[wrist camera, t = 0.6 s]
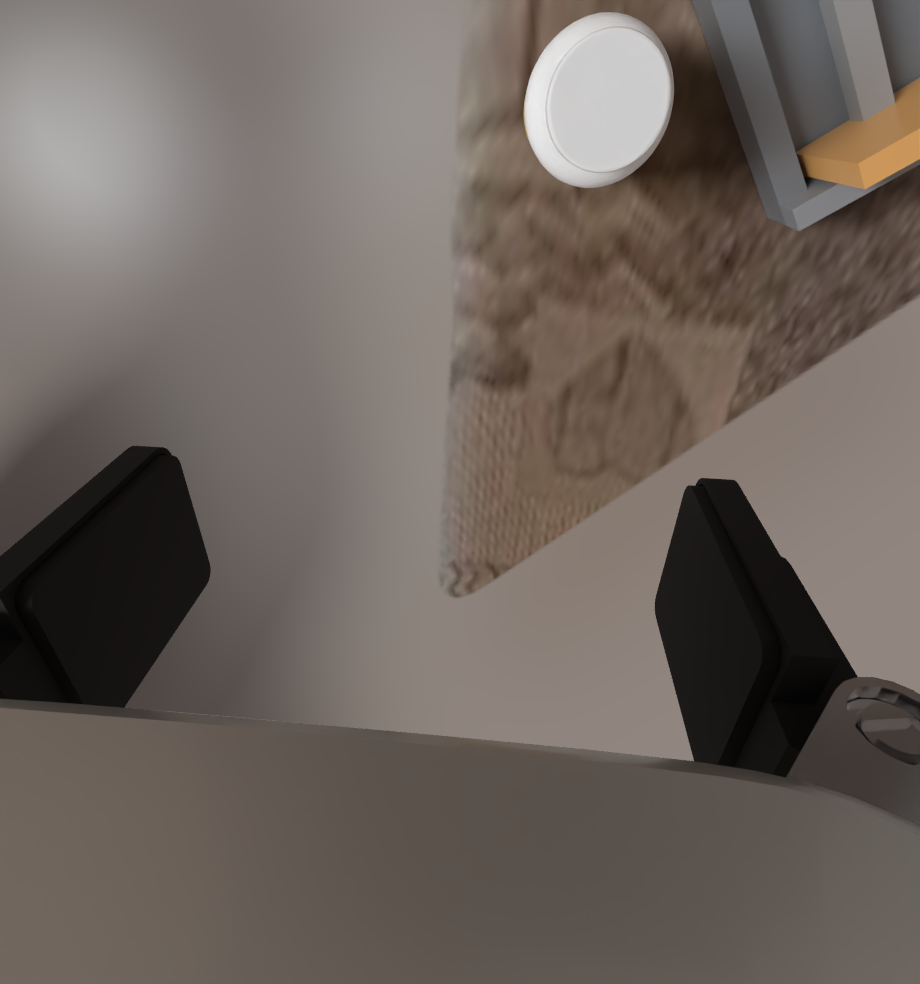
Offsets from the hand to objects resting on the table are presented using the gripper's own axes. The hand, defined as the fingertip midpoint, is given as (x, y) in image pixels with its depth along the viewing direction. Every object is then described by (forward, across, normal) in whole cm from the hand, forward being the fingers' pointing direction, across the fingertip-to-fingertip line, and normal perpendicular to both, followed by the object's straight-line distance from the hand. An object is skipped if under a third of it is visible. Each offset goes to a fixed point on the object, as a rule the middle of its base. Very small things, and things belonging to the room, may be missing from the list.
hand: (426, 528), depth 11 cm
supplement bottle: (+24, -4, -7) cm, 26 cm away
